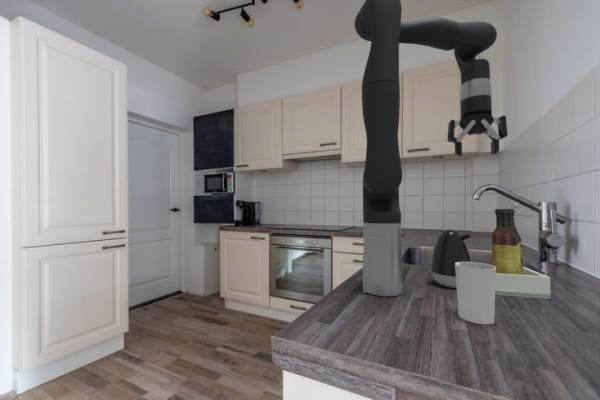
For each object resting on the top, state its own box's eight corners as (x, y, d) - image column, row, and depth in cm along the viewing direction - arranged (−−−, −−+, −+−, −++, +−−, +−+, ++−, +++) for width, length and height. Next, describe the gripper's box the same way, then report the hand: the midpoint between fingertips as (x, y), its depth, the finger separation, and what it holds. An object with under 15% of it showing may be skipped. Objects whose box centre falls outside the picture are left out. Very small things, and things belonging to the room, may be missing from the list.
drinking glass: (471, 309, 56) (471, 260, 56) (506, 322, 49) (505, 267, 50) (447, 313, 53) (447, 263, 54) (480, 327, 47) (479, 270, 47)
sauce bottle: (529, 290, 65) (527, 208, 66) (500, 288, 67) (499, 208, 67) (514, 282, 72) (512, 208, 72) (487, 281, 73) (486, 208, 74)
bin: (490, 294, 65) (489, 273, 65) (473, 281, 77) (473, 263, 77) (550, 299, 62) (550, 277, 62) (524, 285, 73) (523, 266, 73)
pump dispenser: (460, 293, 66) (458, 231, 67) (422, 283, 75) (421, 228, 76) (482, 287, 71) (481, 229, 72) (444, 278, 80) (443, 227, 81)
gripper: (450, 96, 76) (451, 154, 75) (510, 90, 71) (512, 150, 71) (444, 106, 83) (445, 158, 82) (499, 101, 79) (500, 156, 78)
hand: (476, 155), depth 77 cm, fingers open, 8 cm apart
